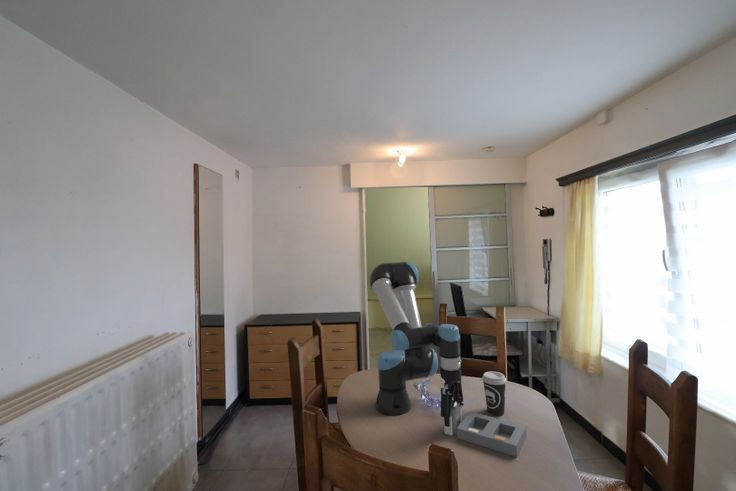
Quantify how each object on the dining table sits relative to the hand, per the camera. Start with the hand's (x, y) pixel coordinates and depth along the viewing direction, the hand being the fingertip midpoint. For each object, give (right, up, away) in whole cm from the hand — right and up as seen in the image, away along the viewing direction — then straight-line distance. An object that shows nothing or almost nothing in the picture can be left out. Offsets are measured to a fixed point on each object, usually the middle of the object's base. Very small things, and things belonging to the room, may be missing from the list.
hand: (453, 428), depth 123 cm
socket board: (+12, 0, -5) cm, 13 cm away
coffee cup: (+20, 0, +12) cm, 24 cm away
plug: (0, -1, 0) cm, 1 cm away
